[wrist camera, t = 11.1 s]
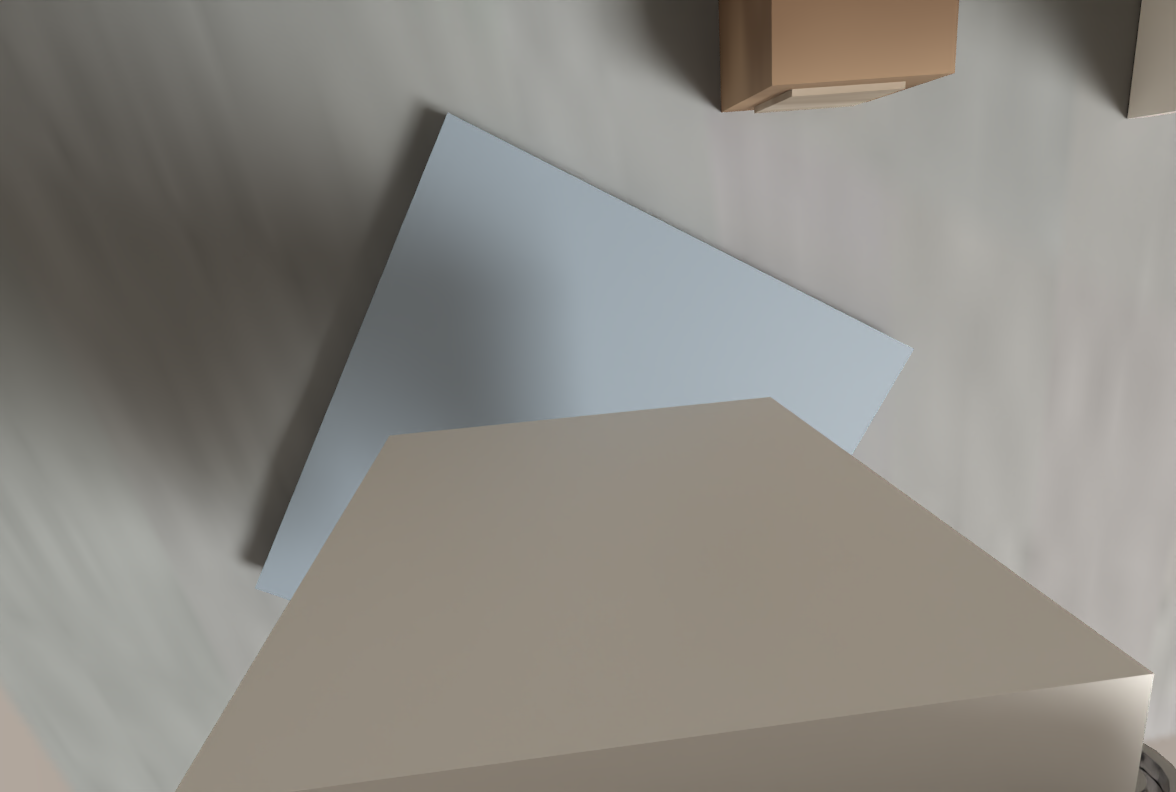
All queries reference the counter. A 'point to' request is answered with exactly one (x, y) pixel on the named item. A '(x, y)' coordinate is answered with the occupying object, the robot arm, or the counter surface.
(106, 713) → the counter surface
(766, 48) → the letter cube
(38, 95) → the counter surface
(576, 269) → the slate board
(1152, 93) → the plain white cube box
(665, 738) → the white box
